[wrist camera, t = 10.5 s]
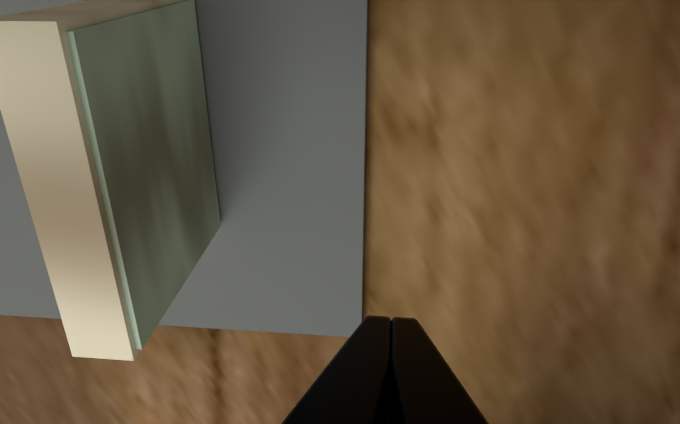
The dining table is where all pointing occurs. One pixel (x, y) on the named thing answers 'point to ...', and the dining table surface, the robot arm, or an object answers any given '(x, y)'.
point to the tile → (111, 159)
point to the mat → (252, 174)
